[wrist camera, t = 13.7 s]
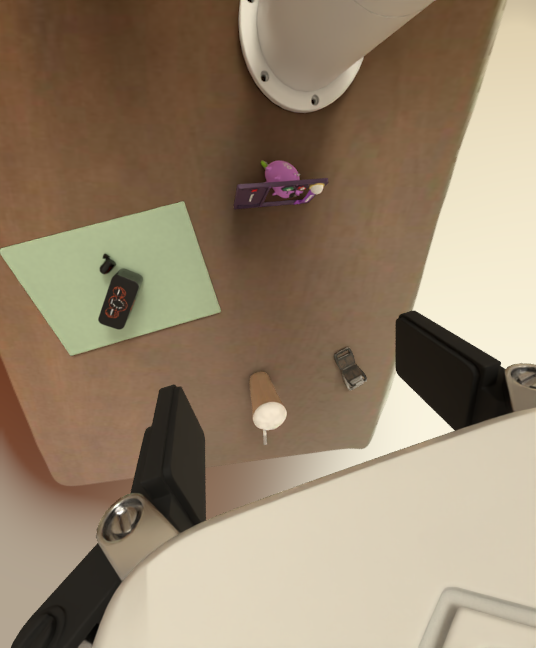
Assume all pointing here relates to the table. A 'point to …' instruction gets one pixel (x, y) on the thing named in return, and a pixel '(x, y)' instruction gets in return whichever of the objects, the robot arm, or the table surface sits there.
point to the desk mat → (91, 285)
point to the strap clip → (350, 369)
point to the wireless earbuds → (119, 295)
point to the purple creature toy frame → (277, 187)
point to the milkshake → (265, 403)
